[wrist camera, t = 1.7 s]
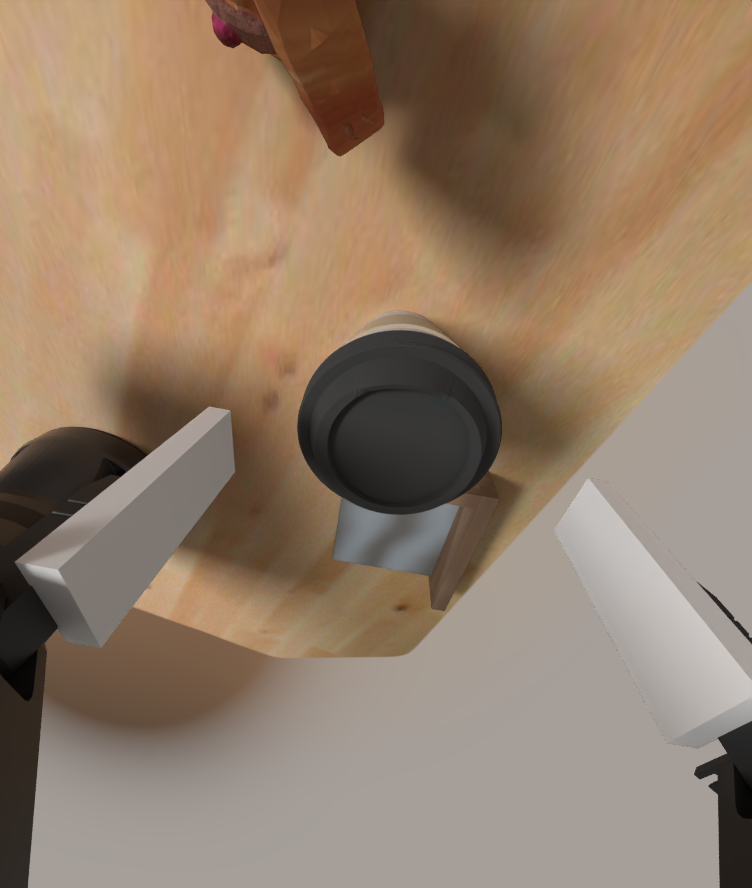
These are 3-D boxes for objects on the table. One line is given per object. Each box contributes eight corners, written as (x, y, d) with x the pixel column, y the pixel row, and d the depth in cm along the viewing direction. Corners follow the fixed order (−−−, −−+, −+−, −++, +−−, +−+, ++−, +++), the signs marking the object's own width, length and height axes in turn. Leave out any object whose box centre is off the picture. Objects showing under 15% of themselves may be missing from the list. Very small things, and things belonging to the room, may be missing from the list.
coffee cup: (447, 410, 28) (486, 548, 15) (343, 404, 28) (294, 533, 15) (466, 296, 23) (548, 354, 10) (341, 290, 23) (268, 338, 11)
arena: (322, 559, 39) (314, 589, 36) (336, 444, 30) (328, 468, 27) (440, 579, 39) (444, 611, 36) (488, 471, 31) (499, 499, 27)
